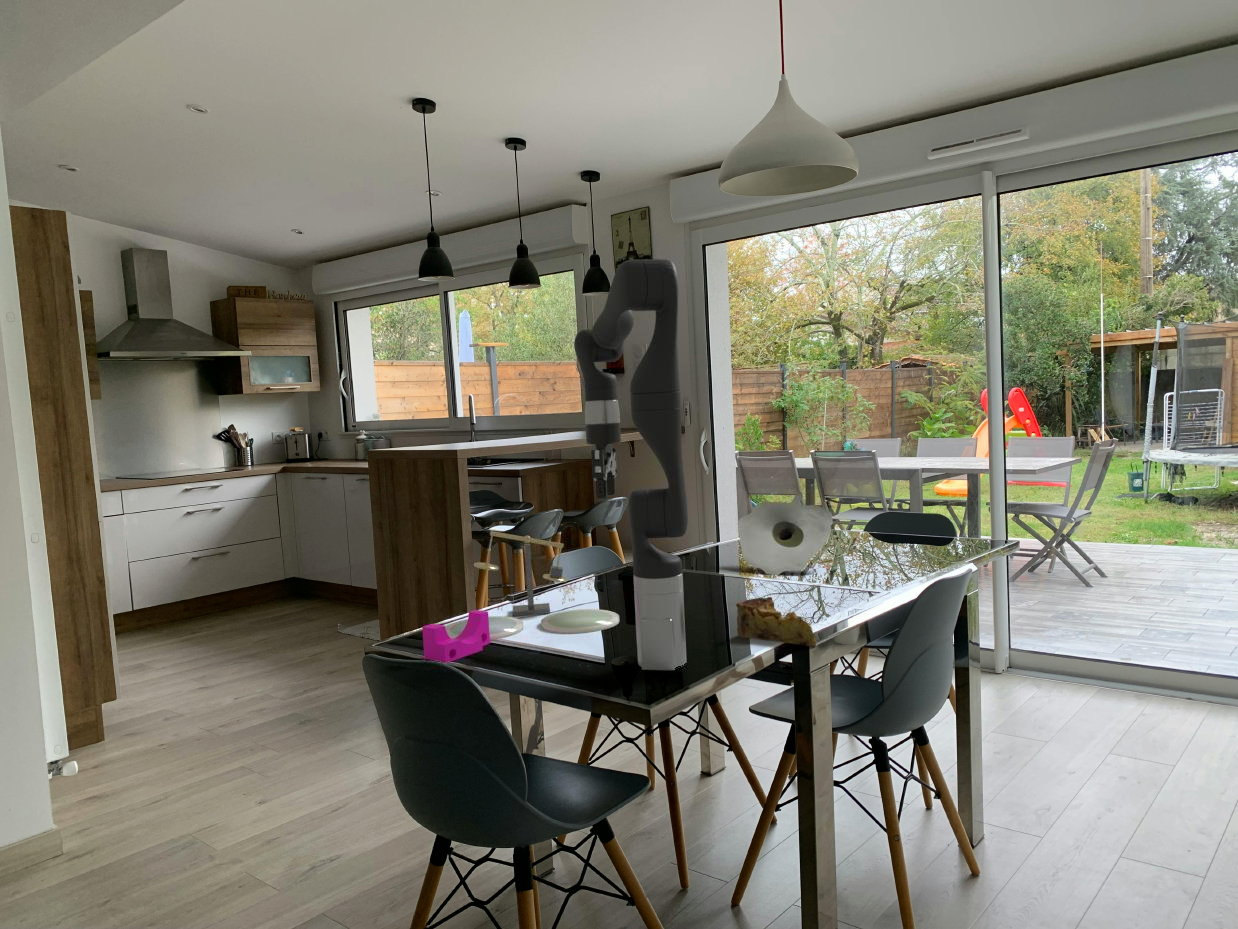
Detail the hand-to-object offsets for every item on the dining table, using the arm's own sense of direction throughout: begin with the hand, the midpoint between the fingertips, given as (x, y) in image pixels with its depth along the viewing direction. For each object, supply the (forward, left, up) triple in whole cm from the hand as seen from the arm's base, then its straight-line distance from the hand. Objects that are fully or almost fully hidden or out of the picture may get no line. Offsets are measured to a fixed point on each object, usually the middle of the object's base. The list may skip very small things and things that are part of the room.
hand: (606, 496), depth 191 cm
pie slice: (-6, -37, -31) cm, 48 cm away
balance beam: (+17, +25, -12) cm, 33 cm away
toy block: (-17, +28, -31) cm, 45 cm away
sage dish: (+7, +10, -30) cm, 32 cm away
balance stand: (+17, +25, -30) cm, 43 cm away
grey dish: (0, +30, -30) cm, 43 cm away
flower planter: (+72, -47, -25) cm, 90 cm away
